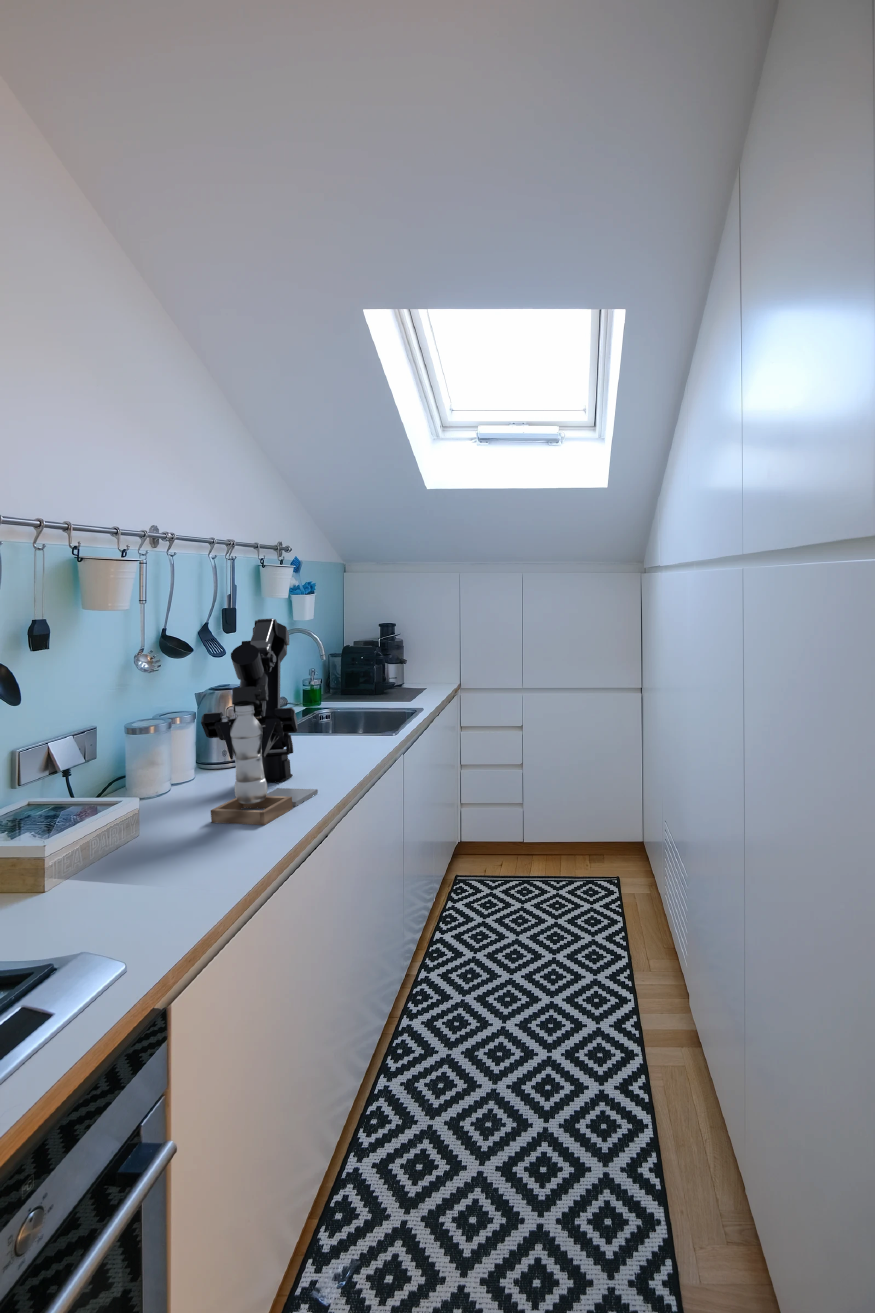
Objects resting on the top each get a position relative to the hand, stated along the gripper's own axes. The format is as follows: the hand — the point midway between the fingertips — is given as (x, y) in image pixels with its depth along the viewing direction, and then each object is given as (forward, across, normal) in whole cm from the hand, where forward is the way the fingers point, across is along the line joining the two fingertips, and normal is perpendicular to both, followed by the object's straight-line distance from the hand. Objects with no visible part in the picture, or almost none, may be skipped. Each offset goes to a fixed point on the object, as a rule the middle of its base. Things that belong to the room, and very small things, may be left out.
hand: (247, 757), depth 150 cm
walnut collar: (+8, 0, +10) cm, 12 cm away
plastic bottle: (+6, 0, +8) cm, 10 cm away
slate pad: (0, +5, +17) cm, 18 cm away
